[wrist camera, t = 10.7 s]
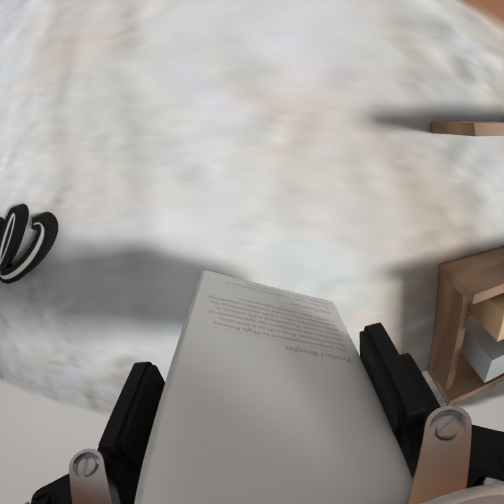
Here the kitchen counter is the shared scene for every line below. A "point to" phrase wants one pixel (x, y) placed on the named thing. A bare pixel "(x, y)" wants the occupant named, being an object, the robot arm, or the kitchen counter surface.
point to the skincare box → (268, 407)
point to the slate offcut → (482, 350)
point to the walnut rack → (463, 296)
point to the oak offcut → (490, 315)
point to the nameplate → (10, 236)
